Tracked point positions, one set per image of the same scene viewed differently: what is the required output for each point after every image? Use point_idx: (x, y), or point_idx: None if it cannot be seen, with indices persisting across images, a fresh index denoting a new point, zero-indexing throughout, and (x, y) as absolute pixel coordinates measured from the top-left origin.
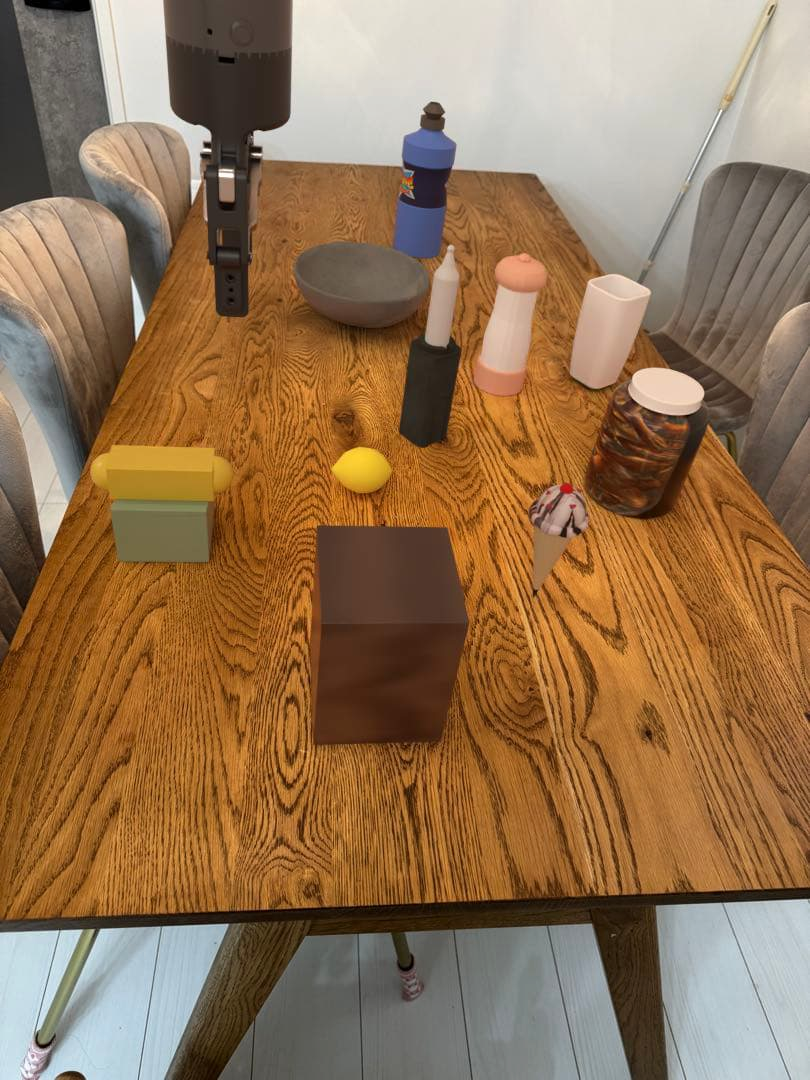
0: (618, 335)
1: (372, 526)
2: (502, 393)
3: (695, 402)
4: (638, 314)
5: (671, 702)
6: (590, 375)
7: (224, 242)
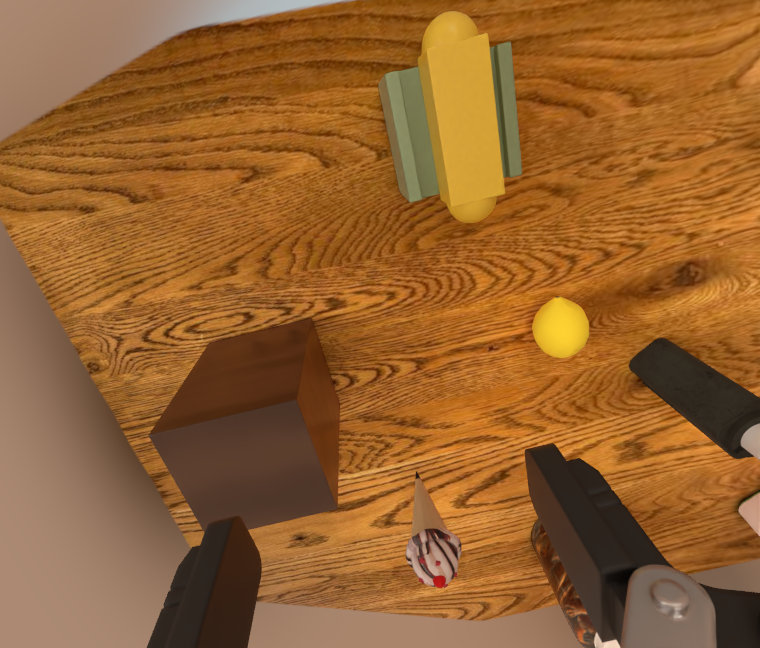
0: None
1: (314, 449)
2: None
3: None
4: None
5: (332, 550)
6: (754, 513)
7: (552, 498)
